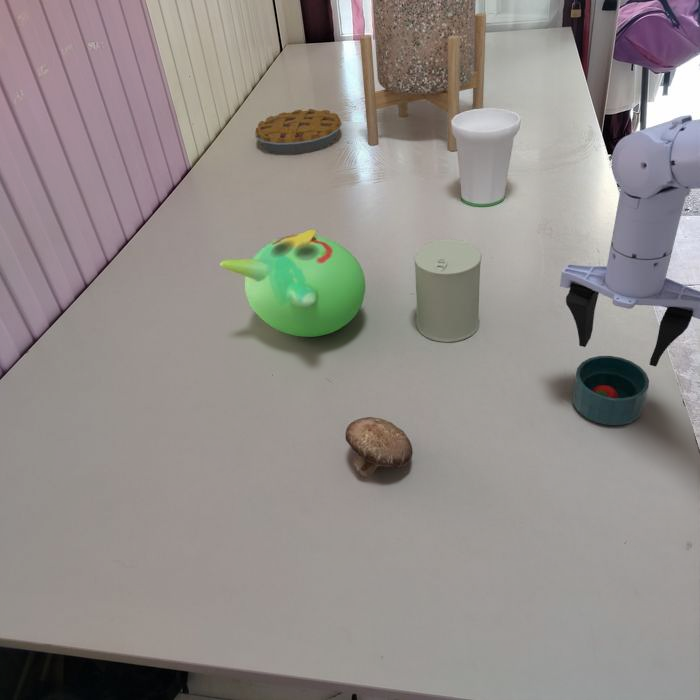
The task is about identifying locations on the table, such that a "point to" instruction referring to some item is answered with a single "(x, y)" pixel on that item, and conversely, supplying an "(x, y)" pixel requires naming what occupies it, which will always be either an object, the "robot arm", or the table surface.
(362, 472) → the mushroom
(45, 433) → the table surface
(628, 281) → the robot arm
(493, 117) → the cup
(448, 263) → the can
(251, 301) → the toy bird
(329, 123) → the pie
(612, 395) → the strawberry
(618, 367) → the bowl
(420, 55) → the planter
